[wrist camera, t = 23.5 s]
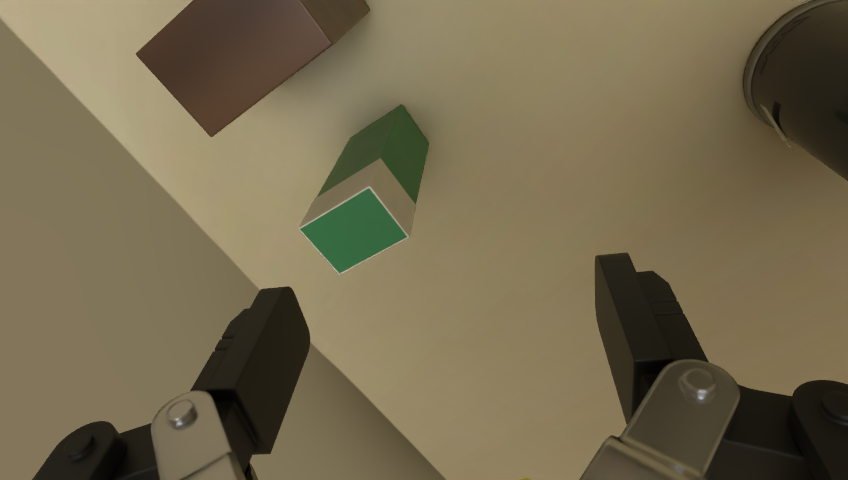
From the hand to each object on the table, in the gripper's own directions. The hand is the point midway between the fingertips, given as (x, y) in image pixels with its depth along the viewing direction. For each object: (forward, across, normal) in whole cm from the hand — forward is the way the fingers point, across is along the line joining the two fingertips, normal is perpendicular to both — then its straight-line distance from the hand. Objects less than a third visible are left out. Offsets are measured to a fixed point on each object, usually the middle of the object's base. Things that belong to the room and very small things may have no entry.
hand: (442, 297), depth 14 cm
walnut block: (+31, -12, +4) cm, 33 cm away
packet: (+28, -9, -3) cm, 29 cm away
